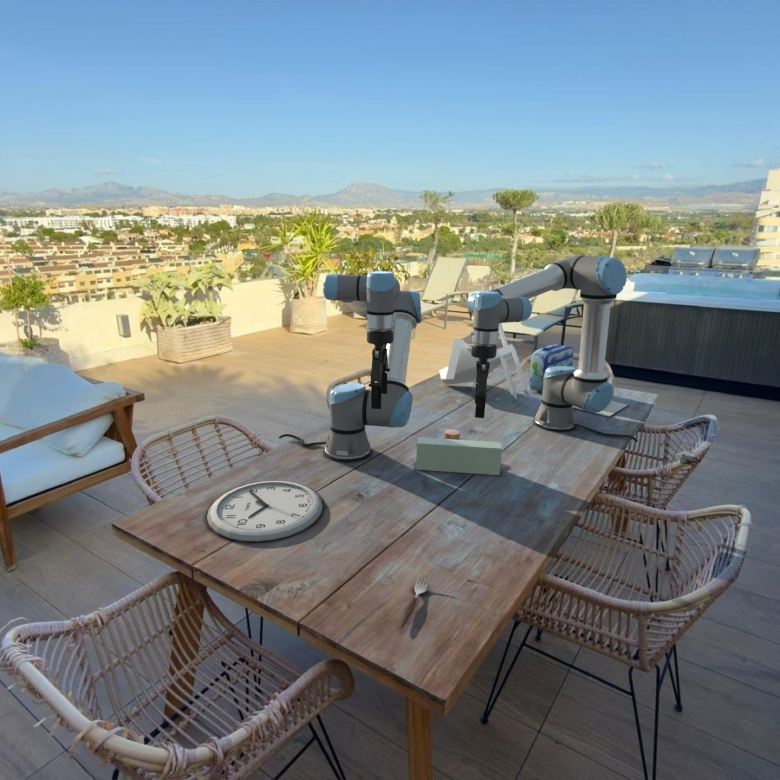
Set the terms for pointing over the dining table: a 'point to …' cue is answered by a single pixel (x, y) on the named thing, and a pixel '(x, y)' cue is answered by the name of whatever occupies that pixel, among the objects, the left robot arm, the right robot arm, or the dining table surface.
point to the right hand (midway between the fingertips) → (479, 410)
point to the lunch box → (548, 363)
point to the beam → (458, 456)
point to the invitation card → (610, 408)
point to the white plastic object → (465, 363)
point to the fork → (419, 589)
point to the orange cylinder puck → (452, 434)
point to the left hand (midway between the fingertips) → (379, 400)
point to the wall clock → (264, 511)
